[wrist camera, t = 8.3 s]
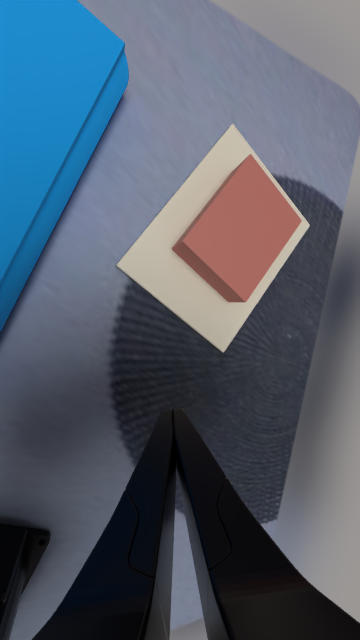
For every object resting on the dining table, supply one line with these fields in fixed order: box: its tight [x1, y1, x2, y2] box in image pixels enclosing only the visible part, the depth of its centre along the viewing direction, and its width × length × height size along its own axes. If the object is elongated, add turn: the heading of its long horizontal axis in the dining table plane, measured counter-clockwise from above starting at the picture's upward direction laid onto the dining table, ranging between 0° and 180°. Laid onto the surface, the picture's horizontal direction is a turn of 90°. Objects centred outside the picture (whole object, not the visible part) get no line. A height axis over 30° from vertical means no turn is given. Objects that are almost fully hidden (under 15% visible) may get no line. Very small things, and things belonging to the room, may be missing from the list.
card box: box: [172, 154, 302, 302], centre depth 19 cm, size 3×7×9 cm
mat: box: [116, 124, 310, 353], centre depth 20 cm, size 16×12×1 cm
